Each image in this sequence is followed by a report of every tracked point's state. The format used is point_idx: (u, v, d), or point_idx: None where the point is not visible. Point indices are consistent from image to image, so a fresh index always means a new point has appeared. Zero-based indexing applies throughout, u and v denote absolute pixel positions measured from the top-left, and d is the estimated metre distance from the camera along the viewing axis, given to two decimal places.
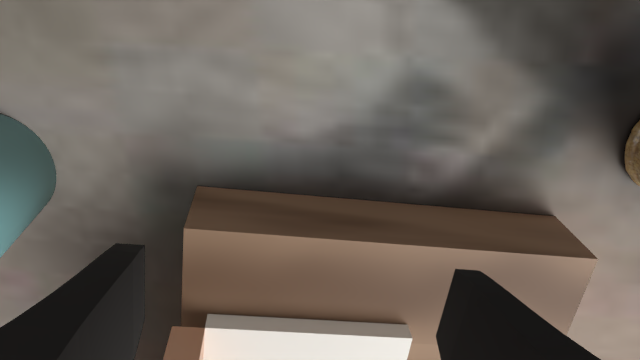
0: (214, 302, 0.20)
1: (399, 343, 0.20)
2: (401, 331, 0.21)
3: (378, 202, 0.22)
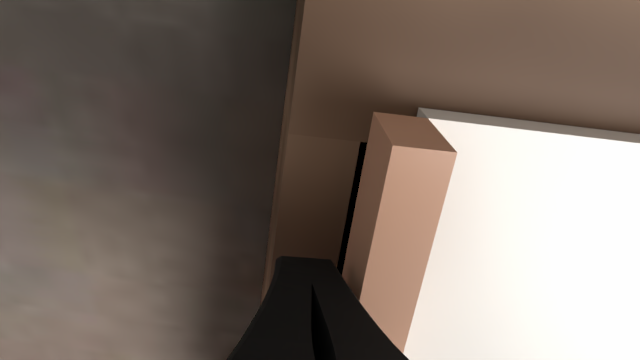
0: (352, 75, 0.11)
1: None
2: None
3: None
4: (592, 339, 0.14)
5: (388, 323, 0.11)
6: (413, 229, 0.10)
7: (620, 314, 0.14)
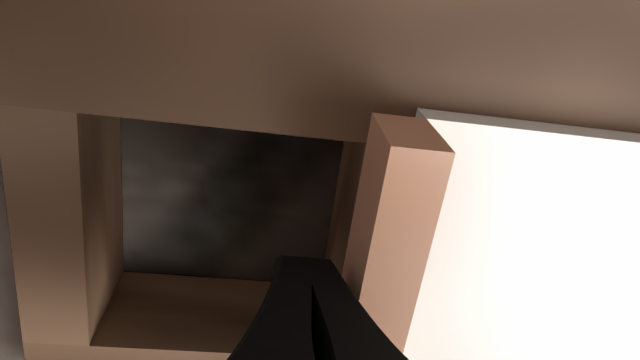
0: (49, 40, 0.11)
1: None
2: None
3: None
4: (592, 338, 0.14)
5: (388, 323, 0.11)
6: (412, 230, 0.10)
7: (620, 314, 0.14)
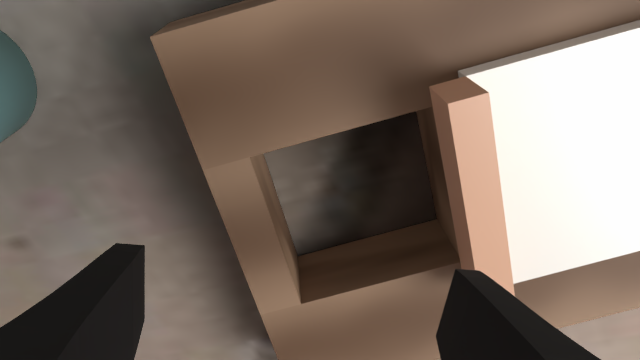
0: (222, 120, 0.17)
1: None
2: None
3: None
4: None
5: (488, 213, 0.16)
6: (480, 148, 0.15)
7: None
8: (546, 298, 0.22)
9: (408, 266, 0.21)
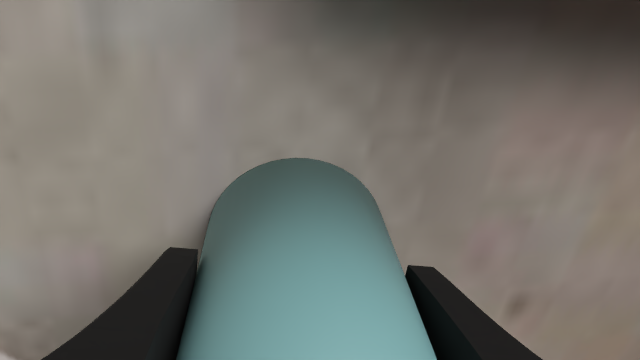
0: None
1: None
2: None
3: None
4: None
5: None
6: None
7: None
8: None
9: None
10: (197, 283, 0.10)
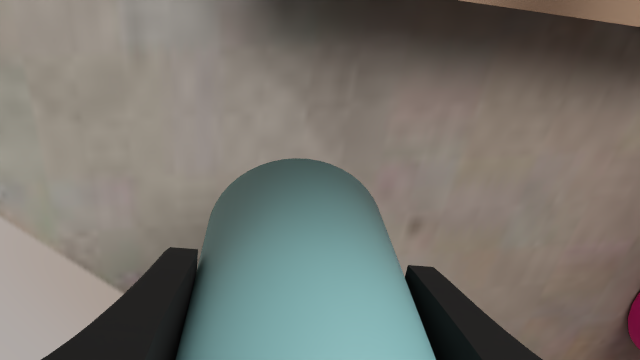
0: None
1: None
2: None
3: None
4: None
5: None
6: None
7: None
8: None
9: None
10: (196, 284, 0.10)
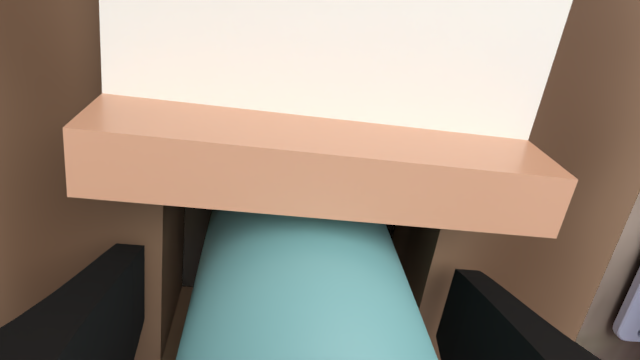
0: None
1: None
2: None
3: None
4: None
5: (309, 180, 0.09)
6: (171, 164, 0.08)
7: None
8: (625, 37, 0.11)
9: None
10: (209, 231, 0.12)
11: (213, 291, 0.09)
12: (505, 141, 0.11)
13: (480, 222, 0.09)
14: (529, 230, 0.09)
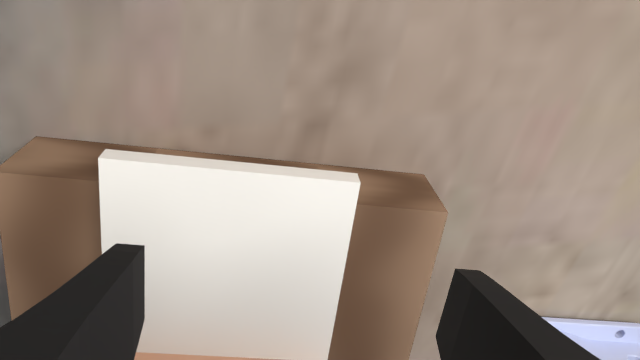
0: None
1: (106, 171, 0.17)
2: None
3: None
4: (268, 225, 0.18)
5: None
6: None
7: (243, 211, 0.18)
8: (379, 306, 0.21)
9: None
10: None
11: None
12: None
13: None
14: None
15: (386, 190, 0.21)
